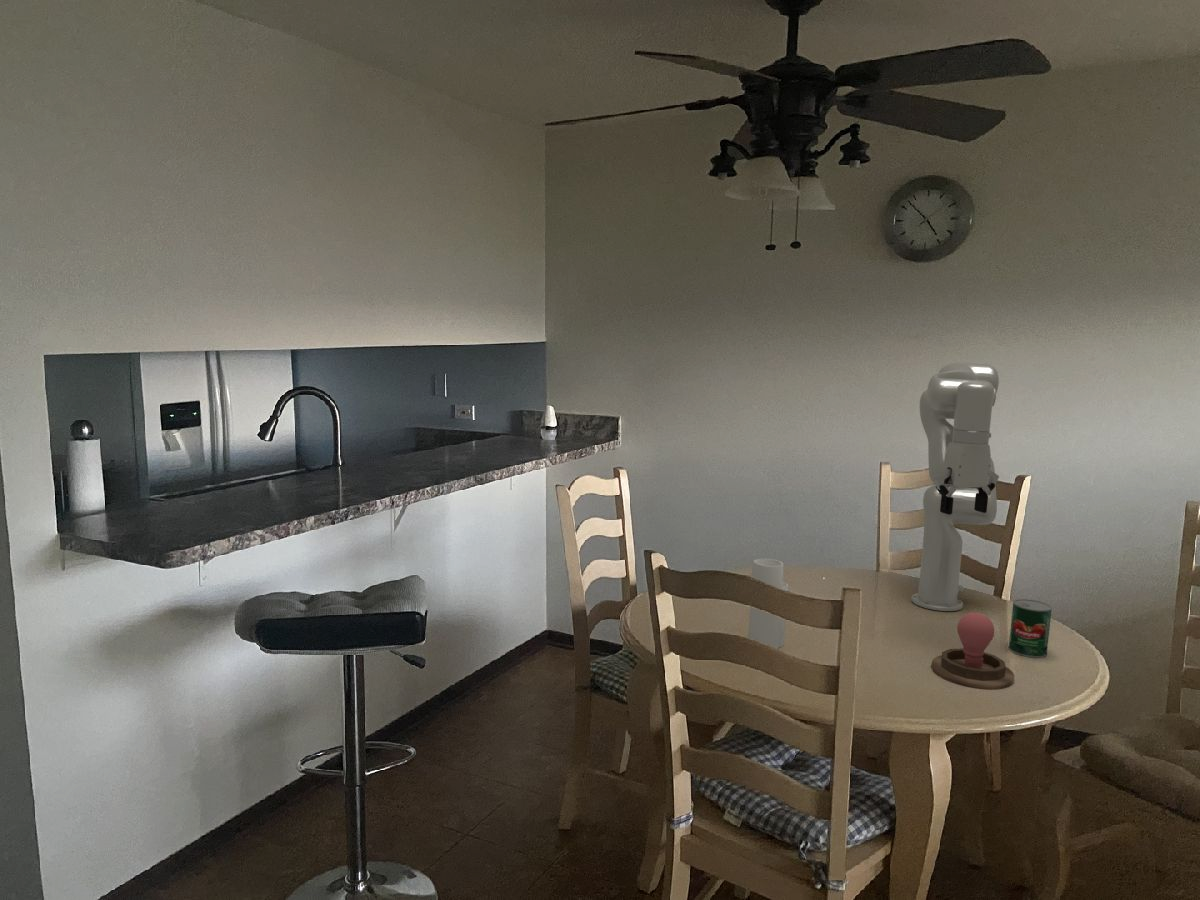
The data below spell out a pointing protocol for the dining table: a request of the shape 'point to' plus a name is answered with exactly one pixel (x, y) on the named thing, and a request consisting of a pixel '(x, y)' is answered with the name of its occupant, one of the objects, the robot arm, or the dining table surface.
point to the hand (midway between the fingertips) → (963, 512)
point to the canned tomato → (1030, 628)
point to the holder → (973, 670)
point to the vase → (761, 622)
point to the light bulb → (975, 637)
